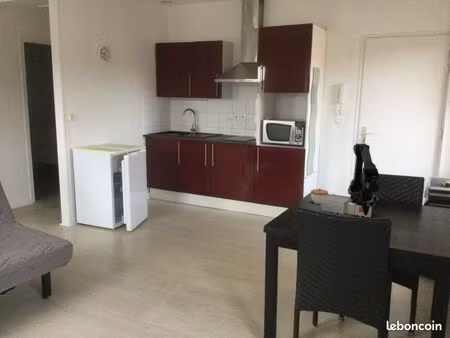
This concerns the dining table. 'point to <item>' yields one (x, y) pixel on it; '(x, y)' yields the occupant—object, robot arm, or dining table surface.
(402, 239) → the dining table surface
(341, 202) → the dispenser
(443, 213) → the dining table surface
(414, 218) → the dining table surface
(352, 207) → the beige rectangular box
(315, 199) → the lidded jar
